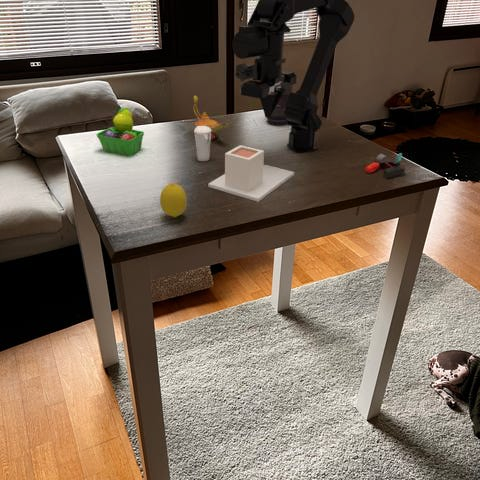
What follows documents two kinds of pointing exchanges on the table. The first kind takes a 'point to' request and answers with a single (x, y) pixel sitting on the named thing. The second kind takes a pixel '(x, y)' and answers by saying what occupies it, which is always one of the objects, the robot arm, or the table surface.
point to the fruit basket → (121, 135)
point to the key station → (249, 175)
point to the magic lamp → (207, 121)
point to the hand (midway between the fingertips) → (267, 117)
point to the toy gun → (387, 166)
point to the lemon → (173, 200)
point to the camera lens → (280, 107)
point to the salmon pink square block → (245, 153)
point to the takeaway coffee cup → (203, 142)
